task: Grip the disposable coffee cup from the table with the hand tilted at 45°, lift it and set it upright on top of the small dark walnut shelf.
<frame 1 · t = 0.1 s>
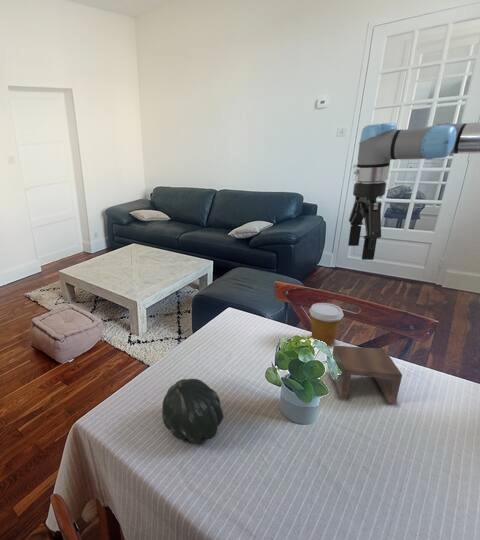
hand: (359, 252, 104), 29 cm above the table, tool pointing down, fingers open, 13 cm apart
squash: (192, 428, 85), on the table
shelf: (360, 386, 91), on the table
disposable coffee cup: (322, 341, 112), on the table
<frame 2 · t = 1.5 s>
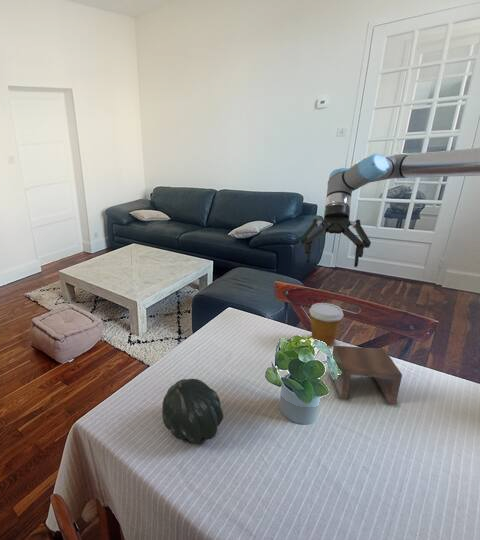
hand: (331, 263, 112), 24 cm above the table, tool tilted 45°, fingers open, 13 cm apart
nothing on the table moved.
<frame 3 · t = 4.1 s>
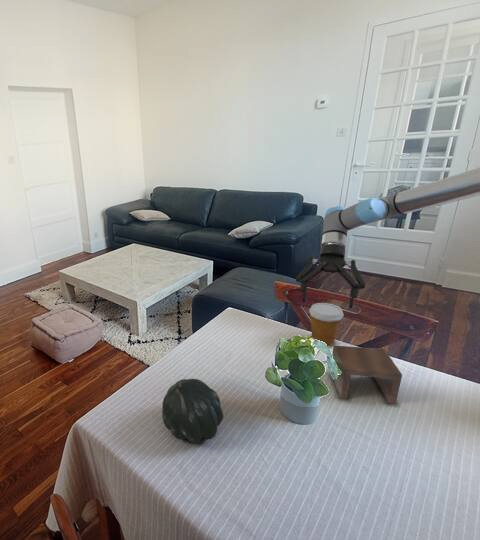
hand: (326, 303, 113), 11 cm above the table, tool tilted 45°, fingers open, 13 cm apart
nothing on the table moved.
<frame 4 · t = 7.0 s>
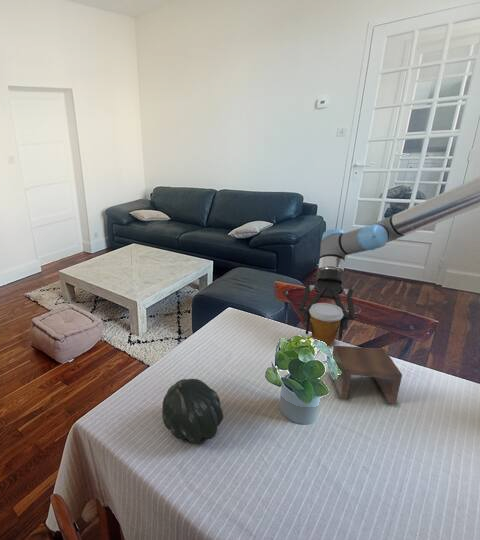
hand: (323, 336, 108), 4 cm above the table, tool tilted 45°, fingers closed on disposable coffee cup, 8 cm apart
disposable coffee cup: (322, 341, 112), on the table, touching gripper
everything else where it was.
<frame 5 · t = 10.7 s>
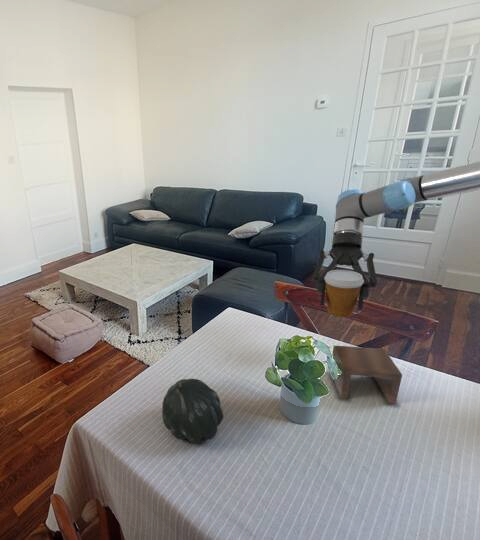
hand: (340, 306, 96), 18 cm above the table, tool tilted 45°, fingers closed on disposable coffee cup, 8 cm apart
disposable coffee cup: (339, 313, 100), point 15 cm above the table, touching gripper
everything else where it was.
when the fingers open (13 cm above the table, at t = 14.7 s): disposable coffee cup stays where it is, resting on shelf.
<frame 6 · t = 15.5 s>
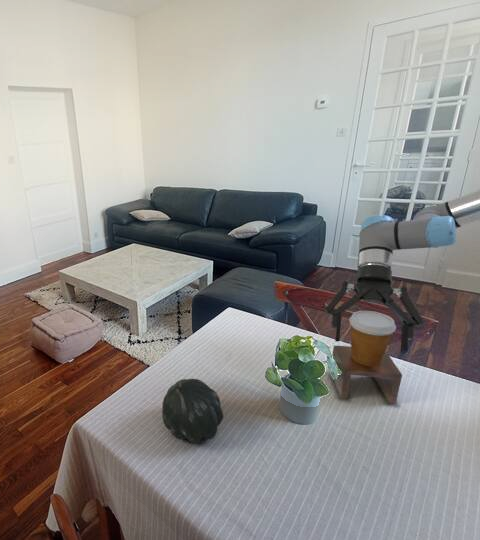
hand: (369, 346, 84), 14 cm above the table, tool tilted 45°, fingers open, 13 cm apart
disposable coffee cup: (365, 359, 88), point 9 cm above the table, touching shelf
everything else where it was.
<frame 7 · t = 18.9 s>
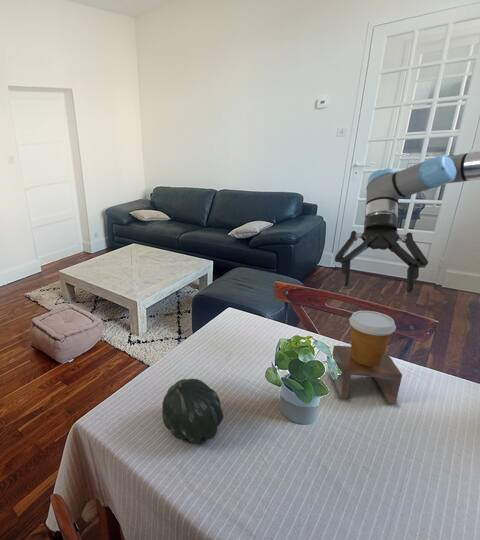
hand: (377, 287, 90), 25 cm above the table, tool tilted 45°, fingers open, 13 cm apart
nothing on the table moved.
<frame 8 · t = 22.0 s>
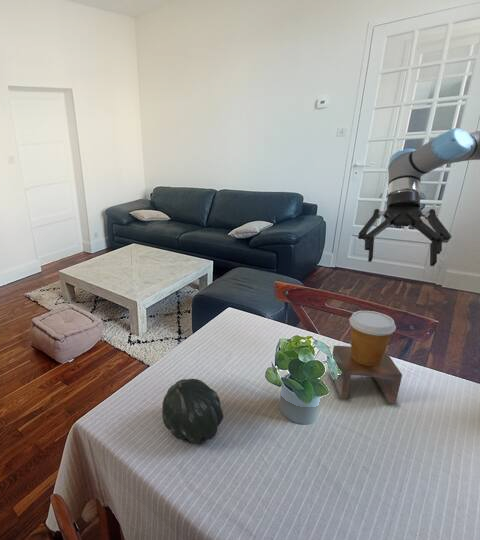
hand: (400, 261, 93), 30 cm above the table, tool tilted 45°, fingers open, 13 cm apart
nothing on the table moved.
at the end: disposable coffee cup inside the target area on the shelf (0.1 cm from its centre), point 8.8 cm above the shelf's base; disposable coffee cup tilted 0° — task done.
